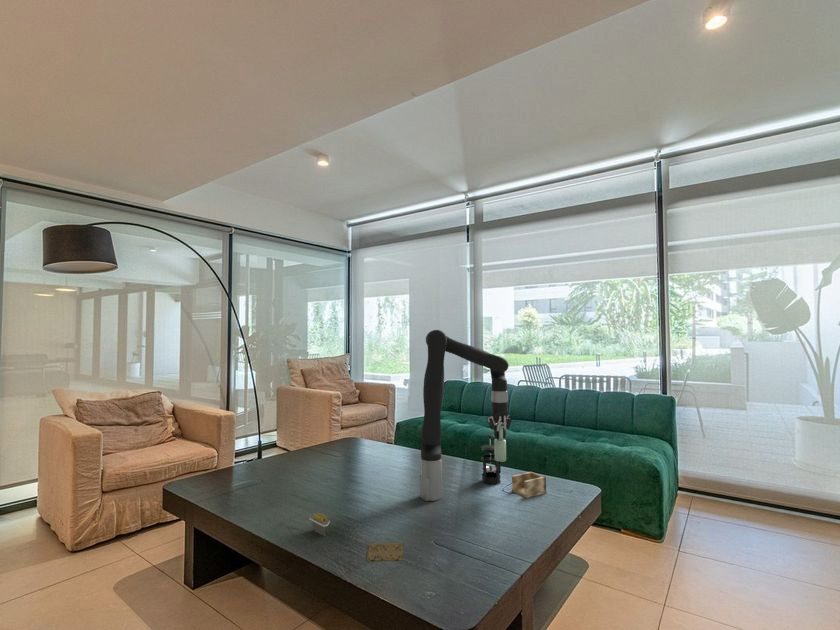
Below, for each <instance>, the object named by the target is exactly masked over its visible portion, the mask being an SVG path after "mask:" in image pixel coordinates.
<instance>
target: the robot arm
mask: <svg viewBox="0 0 840 630" xmlns="http://www.w3.org/2000/svg"><path fill="white" fill-rule="evenodd" d="M425 343H426V345H427V364H426V367H425V373H424V379H423V389H422V390H423V392H422V394H423V408H424V411H423V412H424V414H423V415H424V416H423V422H422V426H421V428H420V466H421V467H420V471H421V474H420V475H419V497H420V498H421V499H422V500H424V501H426V502H428V501H429V502H430V501H433V502H434V501H435V502H436V501H440V500H441V499H442V498H443V479H442V478H443V475H442V474H443V471H442V469H443V468H442V466H443V465H442V464H443V462H442V441H441V440H442V439H441V438H442V427H441V426H442V425H441V423H442V422H441V413H442V407H443V400H444V390H445V355H446V353H449V354H452V355H455V356H457V357H460V358H461V359H464V360H465V361H468V362H471V363H473V364H476V365H477V366H478V365H479V366H481V367H486V368H487V369H488V370H489V371H490V378H491V397H490V398H491V399H490V401H491V403H490V405H491V412H492V413H491V416H489V417H487V418H486V420H487V424H488V426H489V428H490V430H493V433H494V434H493V435H494V436H493V438H494V439H497V440H498V439H499V426H500V425H503V426H504V428H503V439H506V437H507V435H506V433H507V429H510V427H511V424H512V420H513V418H514V417H513V415H509V413H508V411H509V399H508V398H509V395H508V381H507V379H506V372H507V370H508V369H509V362H508V360H507V359H505V358H504V357H502V356H499V355H495V354H493V353H489V352H488V351H486V350H483V349H481V348H478V347H476V346H472V345H469V344H466V343H463V342H459V341H457V340H455V339H453V338H451V337H449V336H447V334H446V333H445V332H443V331H442V330H440V329H433V330H431V331H429V332H428V333H427V334H426V337H425ZM496 426H497V427H496Z"/></svg>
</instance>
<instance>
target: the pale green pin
mask: <svg viewBox="0 0 840 630" xmlns="http://www.w3.org/2000/svg"><path fill="white" fill-rule="evenodd" d="M496 427H497V426H496ZM503 428H504V426H503V425H500V426H499V439H498V440H497V439H495V438H494V440H493V441H494V443H493V445H494V452H495V454H494V455H495V458H494V460H495V461H499V462H500V463H501V462H502V463H503V462H506V461H507V440H506V438H504V439H503Z"/></svg>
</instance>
